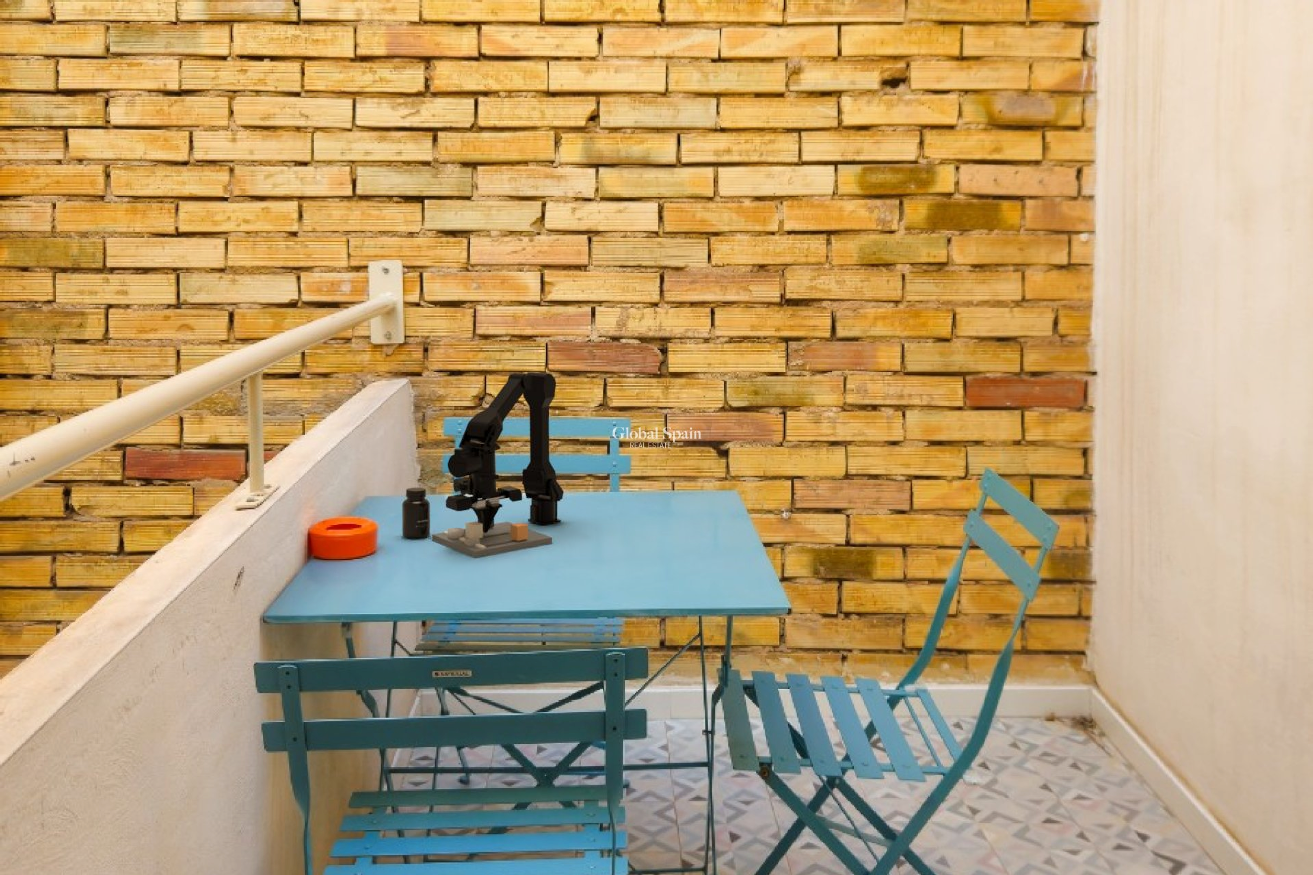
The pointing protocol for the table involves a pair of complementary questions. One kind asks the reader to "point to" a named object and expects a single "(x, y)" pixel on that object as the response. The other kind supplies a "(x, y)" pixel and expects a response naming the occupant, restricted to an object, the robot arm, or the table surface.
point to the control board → (489, 540)
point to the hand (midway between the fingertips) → (485, 532)
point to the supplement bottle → (416, 514)
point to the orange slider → (519, 531)
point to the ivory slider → (474, 530)
